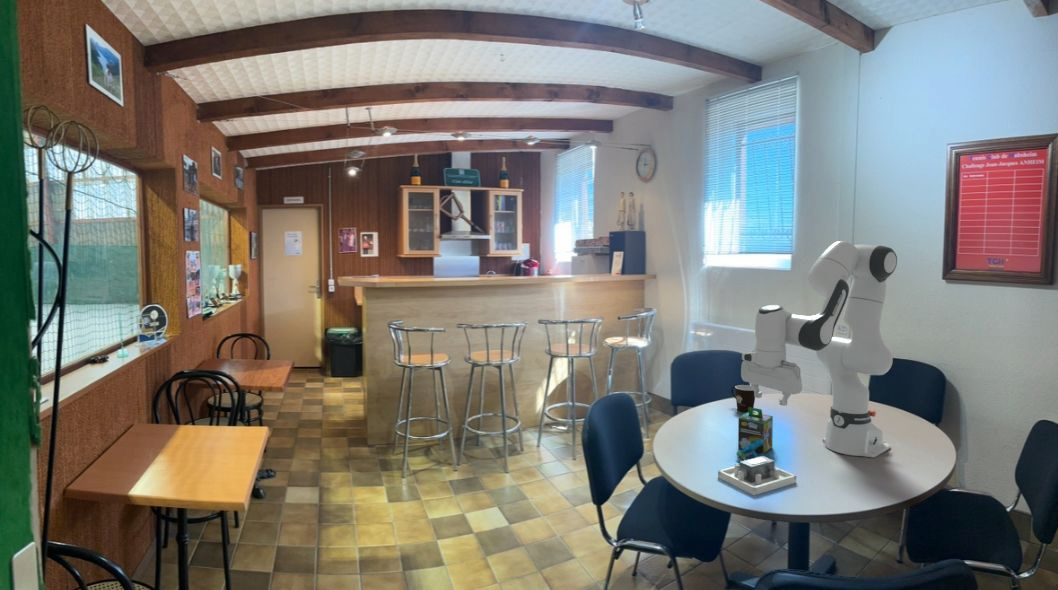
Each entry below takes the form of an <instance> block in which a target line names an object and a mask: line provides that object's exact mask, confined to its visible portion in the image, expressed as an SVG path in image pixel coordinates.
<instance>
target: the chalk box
mask: <svg viewBox="0 0 1058 590" xmlns="http://www.w3.org/2000/svg"><path fill="white" fill-rule="evenodd" d="M748 411H749V412H747V413H743V414H742V415H741V416H740V417H739V418H738V423H737V424H738V429H737V430H738V432H737V433H738V434H737V436H738V437H737V438H738V440H737V442H738V443H737V444H738V446H737V448H738V449H741V450H743V448H744V447H747V446H748V445H750V444H751V443H752V444H754V443H755V442H756V441H759V440H763V442H764V443H763V444H762V445H761V446H759V447H757V449H755V454H759V455H764V454H766V453H767V452H768V451H769V450H770V449H771V448H773V438H774V437H773V436H774V435H773V434H774V433H773V431H774V430H773V427H774V426H773V425H774V422H773V421H774V420H773V416H772V415H769V414H763V410H762V409H761V408H756V407H754V408H751V407H749V408H748ZM752 411H753V412H752ZM756 412H757V413H756Z"/></svg>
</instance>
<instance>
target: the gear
mask: <svg viewBox="0 0 1058 590" xmlns="http://www.w3.org/2000/svg"><path fill="white" fill-rule="evenodd" d="M763 443H764V442H763V440H759V441H756V442H755V443H754V444H752V443H751V444H750V445H748V446H747V447H744V448H743V449H741V450H738V451H736V456H737V457H738V458H739V457H740V458H741V459H743V461H745V460H747V457H748V456H751V455H752V456H753V458H756V457H758V455H757V453H755V449H757V447H759V446H761V445H762V444H763Z"/></svg>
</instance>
